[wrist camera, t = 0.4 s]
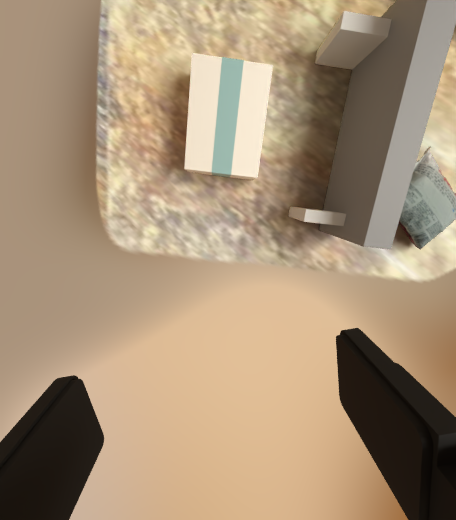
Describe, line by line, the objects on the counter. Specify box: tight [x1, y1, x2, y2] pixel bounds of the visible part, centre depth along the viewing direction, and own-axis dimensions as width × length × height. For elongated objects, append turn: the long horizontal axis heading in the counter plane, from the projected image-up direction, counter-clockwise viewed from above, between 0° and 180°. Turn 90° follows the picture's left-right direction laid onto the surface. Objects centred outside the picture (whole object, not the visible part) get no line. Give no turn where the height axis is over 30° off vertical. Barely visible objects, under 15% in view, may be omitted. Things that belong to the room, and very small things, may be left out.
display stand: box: [288, 0, 456, 249], centre depth 29 cm, size 24×8×12 cm, turn 173°
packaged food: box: [399, 147, 456, 249], centre depth 35 cm, size 9×12×5 cm
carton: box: [184, 53, 273, 180], centre depth 31 cm, size 12×9×5 cm
